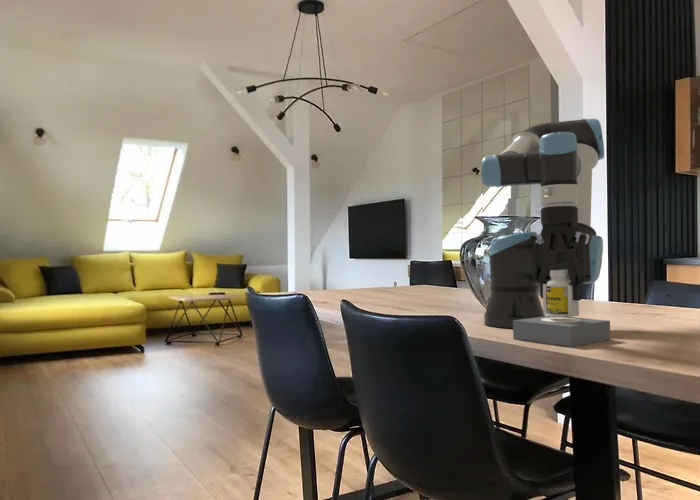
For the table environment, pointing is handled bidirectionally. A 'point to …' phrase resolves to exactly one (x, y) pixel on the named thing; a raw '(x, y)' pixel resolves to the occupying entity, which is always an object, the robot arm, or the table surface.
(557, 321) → the riser
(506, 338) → the table surface
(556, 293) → the supplement bottle
